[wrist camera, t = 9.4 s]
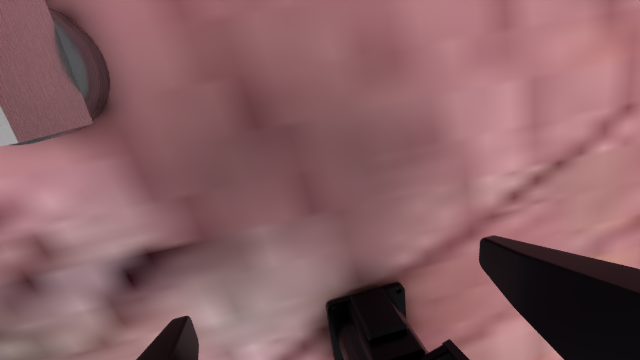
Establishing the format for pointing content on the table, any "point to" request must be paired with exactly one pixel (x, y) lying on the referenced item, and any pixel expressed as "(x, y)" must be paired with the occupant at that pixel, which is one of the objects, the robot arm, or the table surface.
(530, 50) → the table surface
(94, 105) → the ratchet
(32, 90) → the socket
